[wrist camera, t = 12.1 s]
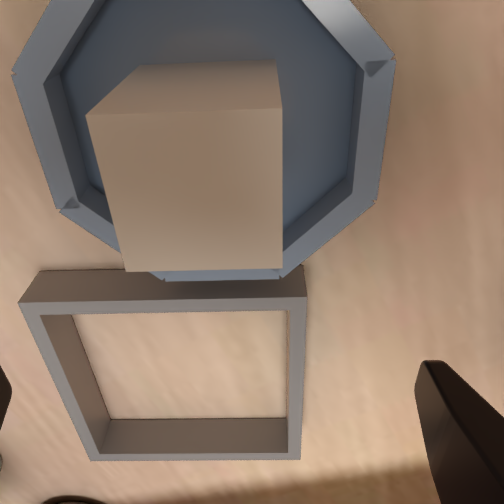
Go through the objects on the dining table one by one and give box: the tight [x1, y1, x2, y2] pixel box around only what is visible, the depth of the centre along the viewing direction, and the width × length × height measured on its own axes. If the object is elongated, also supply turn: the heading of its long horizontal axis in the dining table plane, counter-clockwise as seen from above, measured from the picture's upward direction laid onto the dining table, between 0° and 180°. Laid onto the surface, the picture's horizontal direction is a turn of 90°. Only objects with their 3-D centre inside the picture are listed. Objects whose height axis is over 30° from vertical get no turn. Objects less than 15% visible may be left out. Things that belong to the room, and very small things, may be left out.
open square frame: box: [18, 265, 307, 461], centre depth 25 cm, size 14×14×2 cm
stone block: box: [85, 59, 283, 272], centre depth 15 cm, size 5×5×6 cm
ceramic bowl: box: [11, 0, 396, 282], centre depth 17 cm, size 13×13×2 cm
